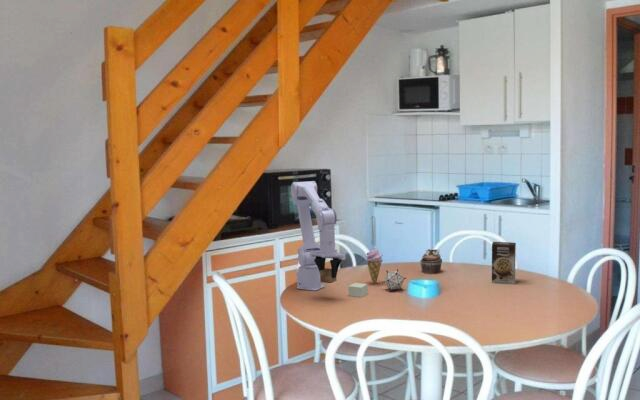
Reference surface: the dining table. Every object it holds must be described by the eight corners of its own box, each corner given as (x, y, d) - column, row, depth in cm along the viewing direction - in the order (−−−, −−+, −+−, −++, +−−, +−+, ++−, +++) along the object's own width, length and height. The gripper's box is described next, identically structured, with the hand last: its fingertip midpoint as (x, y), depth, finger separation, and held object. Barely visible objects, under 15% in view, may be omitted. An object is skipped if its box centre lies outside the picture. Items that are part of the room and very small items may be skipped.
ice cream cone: (383, 281, 244) (382, 246, 242) (383, 285, 238) (382, 249, 236) (367, 282, 244) (366, 247, 243) (367, 285, 238) (366, 249, 237)
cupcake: (419, 269, 264) (419, 247, 263) (441, 269, 263) (441, 247, 262) (420, 274, 255) (420, 252, 254) (443, 274, 253) (442, 251, 252)
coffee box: (491, 283, 236) (491, 244, 234) (492, 279, 242) (492, 241, 240) (514, 284, 232) (514, 244, 231) (515, 280, 238) (515, 241, 237)
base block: (348, 296, 224) (348, 286, 224) (355, 292, 229) (354, 282, 228) (361, 297, 221) (361, 287, 221) (367, 294, 226) (367, 284, 226)
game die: (398, 300, 229) (405, 283, 223) (378, 292, 231) (384, 275, 224) (403, 284, 236) (410, 268, 229) (383, 276, 237) (389, 260, 231)
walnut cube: (320, 282, 220) (320, 270, 219) (326, 279, 224) (325, 268, 223) (330, 283, 218) (330, 271, 217) (336, 280, 221) (336, 269, 221)
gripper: (305, 242, 219) (306, 277, 221) (339, 244, 212) (340, 281, 213) (314, 239, 225) (316, 273, 227) (348, 241, 218) (349, 276, 219)
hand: (328, 276), depth 221 cm, fingers closed on walnut cube, 4 cm apart
